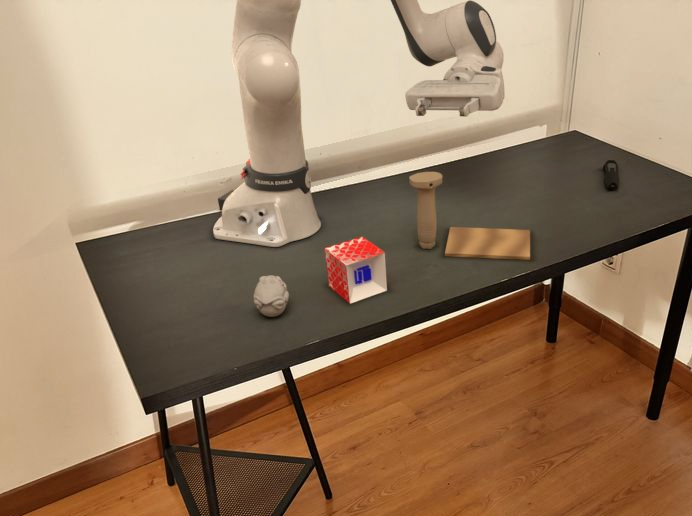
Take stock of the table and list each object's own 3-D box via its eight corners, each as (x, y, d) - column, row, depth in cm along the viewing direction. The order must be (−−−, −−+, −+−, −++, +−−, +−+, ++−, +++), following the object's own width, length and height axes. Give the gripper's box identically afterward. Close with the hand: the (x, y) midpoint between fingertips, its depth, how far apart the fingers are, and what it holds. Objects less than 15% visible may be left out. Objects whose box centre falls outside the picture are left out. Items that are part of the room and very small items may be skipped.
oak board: (444, 256, 144) (444, 252, 144) (450, 230, 154) (450, 226, 154) (529, 260, 143) (530, 256, 143) (529, 233, 153) (530, 229, 152)
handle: (446, 248, 147) (446, 178, 139) (417, 254, 145) (415, 184, 136) (436, 238, 151) (435, 169, 142) (408, 244, 149) (405, 175, 140)
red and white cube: (365, 273, 139) (362, 236, 134) (387, 290, 133) (384, 252, 129) (328, 286, 135) (324, 248, 130) (349, 304, 130) (345, 265, 125)
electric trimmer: (603, 193, 171) (605, 181, 169) (602, 168, 183) (604, 156, 181) (619, 194, 170) (621, 182, 168) (617, 169, 182) (619, 157, 181)
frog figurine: (295, 303, 130) (290, 269, 126) (286, 324, 124) (281, 290, 120) (261, 302, 130) (255, 268, 126) (251, 324, 124) (245, 289, 120)
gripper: (417, 69, 153) (390, 97, 144) (508, 68, 146) (486, 97, 137) (423, 98, 157) (397, 126, 148) (511, 98, 150) (490, 128, 141)
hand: (440, 112), depth 142 cm, fingers open, 8 cm apart
